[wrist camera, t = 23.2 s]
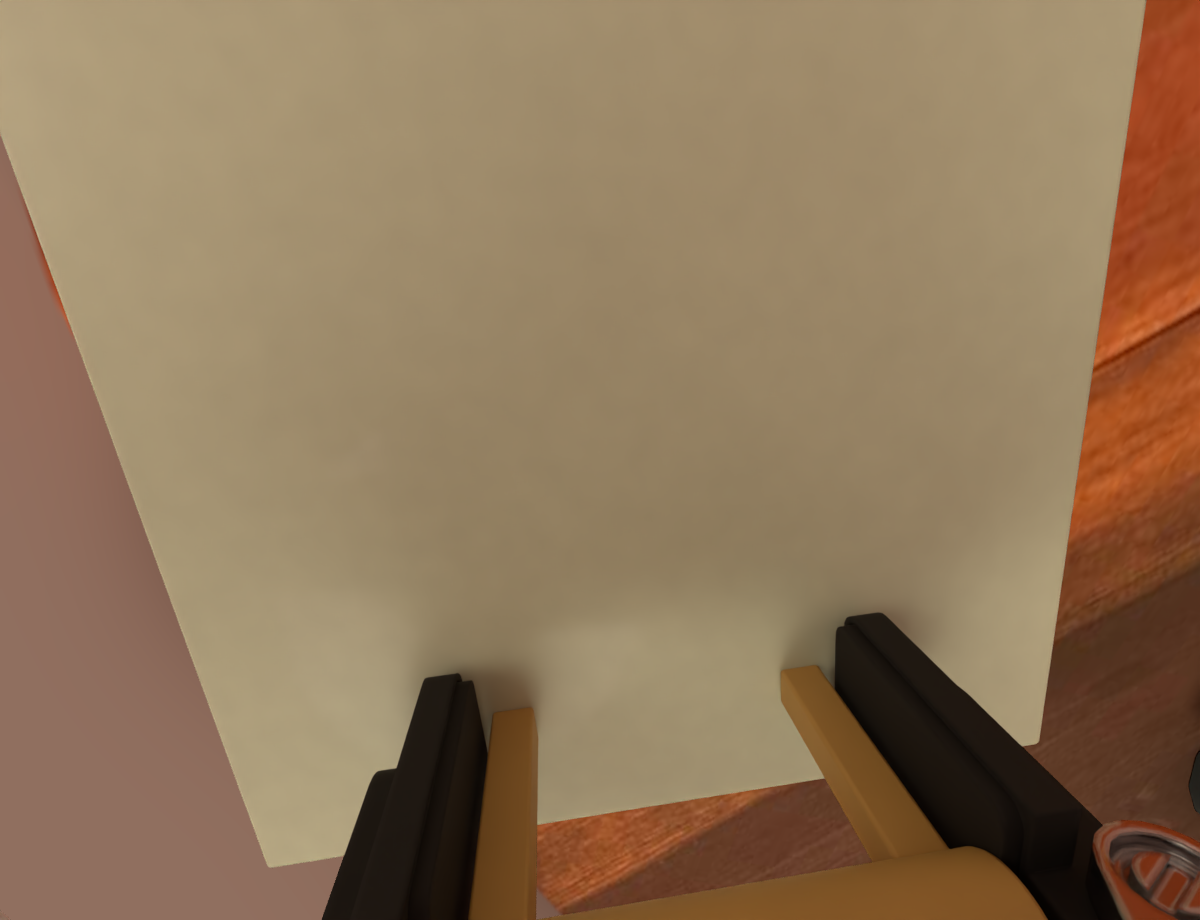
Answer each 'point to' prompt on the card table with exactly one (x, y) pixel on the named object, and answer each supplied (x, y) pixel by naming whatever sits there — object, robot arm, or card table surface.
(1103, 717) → the card table surface
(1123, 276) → the card table surface
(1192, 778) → the mug
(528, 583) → the lid
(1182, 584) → the card table surface
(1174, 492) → the card table surface
